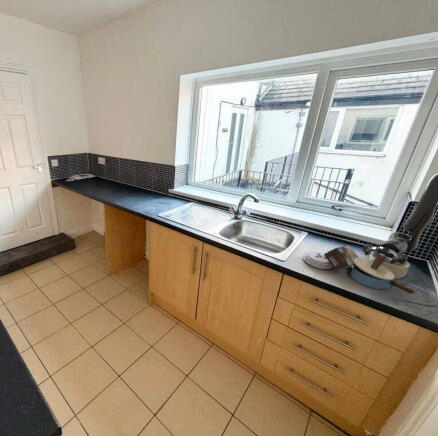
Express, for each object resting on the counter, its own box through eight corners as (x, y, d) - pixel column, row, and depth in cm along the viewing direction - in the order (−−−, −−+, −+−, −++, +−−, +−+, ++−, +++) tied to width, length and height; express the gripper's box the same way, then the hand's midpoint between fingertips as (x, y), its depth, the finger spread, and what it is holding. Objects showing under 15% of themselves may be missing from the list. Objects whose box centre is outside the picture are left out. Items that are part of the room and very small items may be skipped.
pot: (410, 275, 114) (416, 263, 111) (394, 281, 109) (399, 269, 107) (376, 261, 125) (380, 250, 123) (359, 266, 121) (364, 255, 118)
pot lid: (400, 278, 105) (412, 263, 101) (381, 283, 100) (393, 268, 96) (364, 257, 117) (374, 243, 113) (345, 261, 111) (355, 246, 108)
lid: (337, 272, 116) (340, 263, 114) (308, 268, 119) (310, 259, 117) (326, 258, 127) (328, 250, 125) (299, 255, 130) (301, 247, 128)
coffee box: (336, 251, 125) (322, 253, 116) (349, 245, 120) (335, 247, 112) (349, 267, 120) (335, 271, 112) (363, 261, 116) (349, 265, 107)
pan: (419, 295, 100) (424, 286, 98) (401, 303, 95) (405, 294, 93) (361, 269, 118) (364, 261, 117) (343, 275, 113) (346, 266, 112)
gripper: (374, 236, 118) (361, 243, 110) (415, 247, 107) (404, 256, 99) (369, 249, 121) (356, 257, 113) (409, 262, 110) (397, 272, 102)
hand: (378, 257), depth 106 cm, fingers open, 8 cm apart
